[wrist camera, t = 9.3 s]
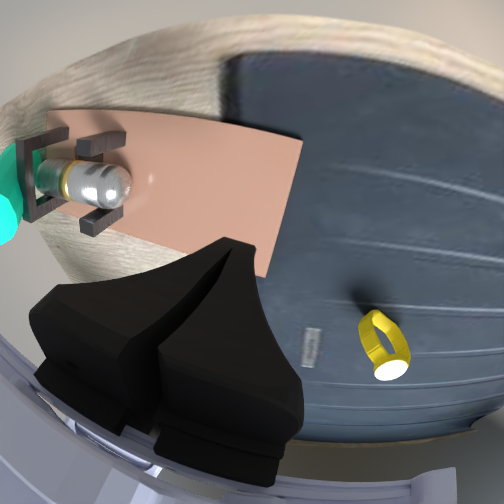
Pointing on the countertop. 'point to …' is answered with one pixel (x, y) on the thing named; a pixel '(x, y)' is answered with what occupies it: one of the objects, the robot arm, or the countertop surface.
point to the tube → (84, 182)
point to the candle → (11, 192)
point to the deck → (190, 177)
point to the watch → (384, 363)
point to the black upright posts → (45, 204)
